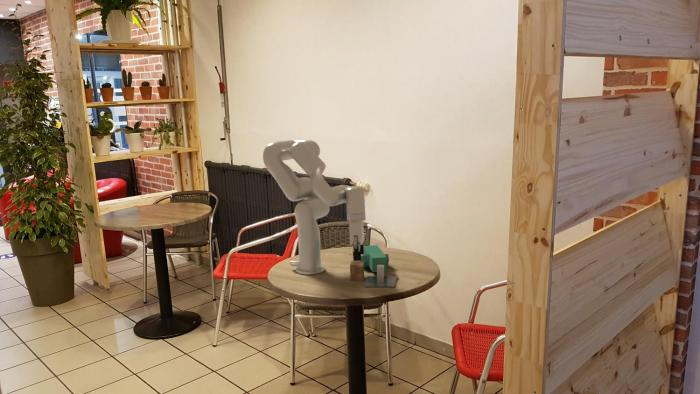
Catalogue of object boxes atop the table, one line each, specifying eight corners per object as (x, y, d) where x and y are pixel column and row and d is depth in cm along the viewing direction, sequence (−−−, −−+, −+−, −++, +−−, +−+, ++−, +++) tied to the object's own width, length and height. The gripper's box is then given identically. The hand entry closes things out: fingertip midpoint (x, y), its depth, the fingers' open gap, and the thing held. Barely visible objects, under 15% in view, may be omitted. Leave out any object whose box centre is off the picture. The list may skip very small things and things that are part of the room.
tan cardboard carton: (350, 280, 215) (349, 264, 214) (352, 276, 220) (351, 261, 219) (362, 280, 215) (362, 265, 213) (364, 276, 220) (363, 261, 219)
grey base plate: (364, 287, 207) (364, 270, 206) (367, 277, 219) (367, 261, 218) (394, 287, 206) (394, 270, 204) (396, 277, 217) (395, 261, 216)
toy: (379, 236, 249) (393, 253, 219) (379, 256, 250) (393, 275, 221) (354, 238, 247) (365, 255, 218) (354, 257, 249) (365, 277, 219)
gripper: (349, 213, 222) (352, 252, 224) (344, 221, 205) (346, 263, 208) (367, 212, 221) (369, 251, 223) (363, 220, 204) (365, 263, 206)
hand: (358, 257), depth 215 cm, fingers open, 9 cm apart
